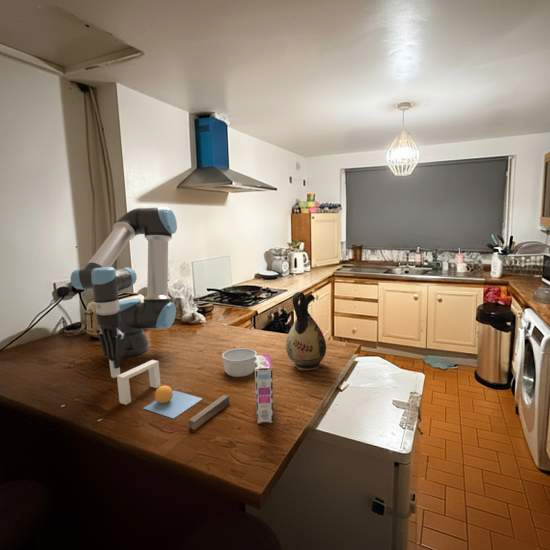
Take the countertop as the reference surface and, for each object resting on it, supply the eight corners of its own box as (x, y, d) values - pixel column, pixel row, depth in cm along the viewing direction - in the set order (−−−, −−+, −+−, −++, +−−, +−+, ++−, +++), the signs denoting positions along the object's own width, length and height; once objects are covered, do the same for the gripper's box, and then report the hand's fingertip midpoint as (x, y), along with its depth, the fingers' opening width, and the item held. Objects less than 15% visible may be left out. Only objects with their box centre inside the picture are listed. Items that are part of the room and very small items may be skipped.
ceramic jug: (299, 355, 150) (298, 286, 145) (333, 363, 141) (332, 289, 136) (276, 370, 136) (274, 293, 131) (311, 379, 127) (310, 297, 123)
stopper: (189, 428, 99) (188, 420, 99) (224, 402, 113) (223, 394, 113) (194, 430, 98) (194, 421, 98) (229, 403, 112) (228, 396, 112)
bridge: (119, 402, 115) (116, 375, 113) (154, 384, 127) (152, 359, 126) (125, 404, 113) (123, 377, 112) (160, 385, 126) (158, 361, 124)
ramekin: (226, 364, 143) (225, 347, 142) (258, 363, 143) (258, 347, 142) (220, 379, 130) (219, 361, 129) (255, 378, 130) (255, 360, 129)
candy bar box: (274, 423, 101) (272, 368, 98) (256, 424, 100) (254, 369, 98) (271, 403, 112) (269, 353, 109) (255, 404, 111) (253, 354, 109)
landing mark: (142, 408, 111) (142, 408, 111) (173, 390, 122) (173, 390, 122) (173, 418, 104) (173, 418, 104) (202, 399, 116) (202, 398, 116)
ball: (164, 396, 109) (160, 410, 111) (178, 389, 114) (173, 402, 116) (153, 385, 112) (149, 399, 113) (167, 379, 116) (163, 392, 118)
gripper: (86, 313, 122) (94, 376, 127) (110, 317, 116) (118, 384, 120) (105, 307, 129) (113, 368, 133) (130, 311, 123) (137, 375, 127)
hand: (115, 375), depth 127 cm, fingers closed
